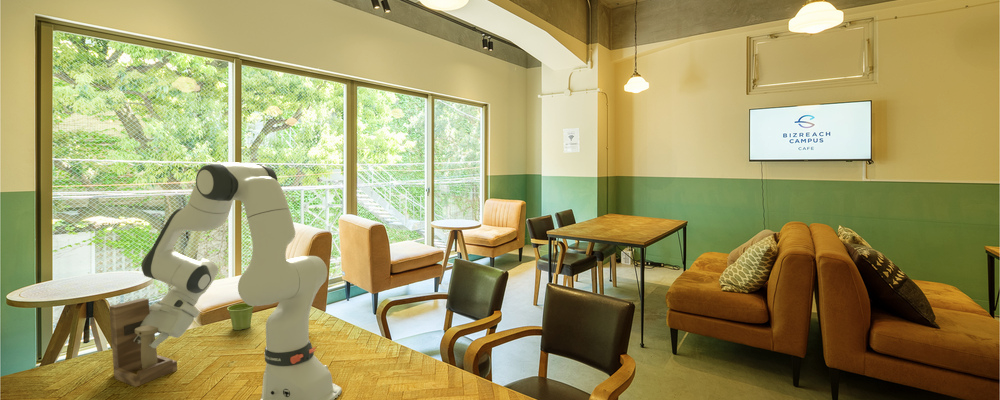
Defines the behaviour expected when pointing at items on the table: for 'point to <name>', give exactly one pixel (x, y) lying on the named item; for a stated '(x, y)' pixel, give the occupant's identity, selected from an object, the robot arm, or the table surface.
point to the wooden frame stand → (133, 345)
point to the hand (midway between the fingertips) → (143, 345)
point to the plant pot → (240, 315)
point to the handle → (147, 345)
